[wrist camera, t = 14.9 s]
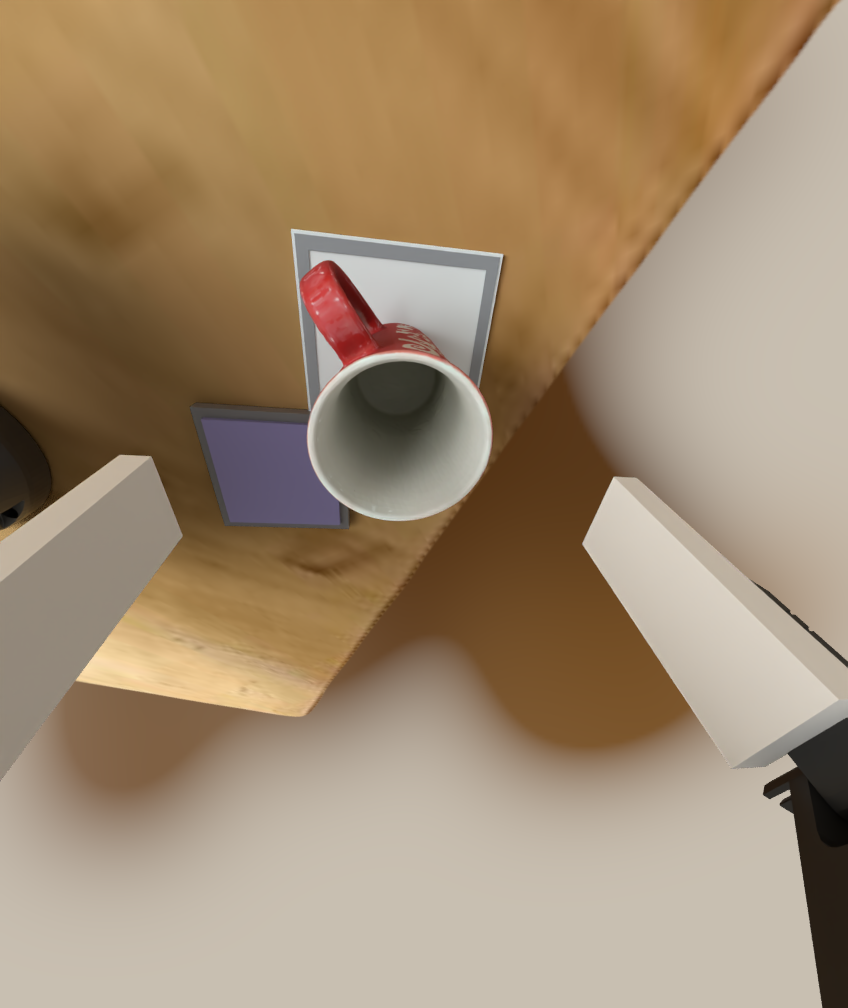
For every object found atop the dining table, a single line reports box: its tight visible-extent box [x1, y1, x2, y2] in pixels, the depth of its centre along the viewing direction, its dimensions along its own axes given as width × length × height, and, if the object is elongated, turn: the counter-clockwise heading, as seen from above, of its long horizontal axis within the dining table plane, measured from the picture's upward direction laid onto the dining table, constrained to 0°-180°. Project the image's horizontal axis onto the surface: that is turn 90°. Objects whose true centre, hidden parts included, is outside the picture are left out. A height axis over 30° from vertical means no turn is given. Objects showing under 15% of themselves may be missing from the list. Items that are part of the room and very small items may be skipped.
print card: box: [291, 229, 503, 411], centre depth 27 cm, size 14×14×1 cm
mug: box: [300, 260, 493, 521], centre depth 21 cm, size 13×9×14 cm
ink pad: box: [190, 403, 350, 529], centre depth 32 cm, size 12×12×1 cm
